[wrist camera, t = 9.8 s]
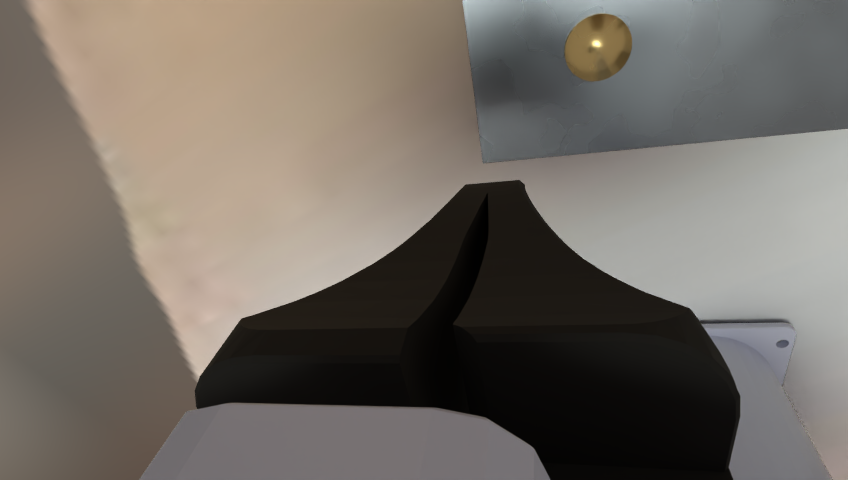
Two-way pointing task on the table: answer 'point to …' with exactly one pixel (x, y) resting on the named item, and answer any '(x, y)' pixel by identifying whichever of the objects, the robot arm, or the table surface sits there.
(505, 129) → the steel plate with brass
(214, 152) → the table surface
